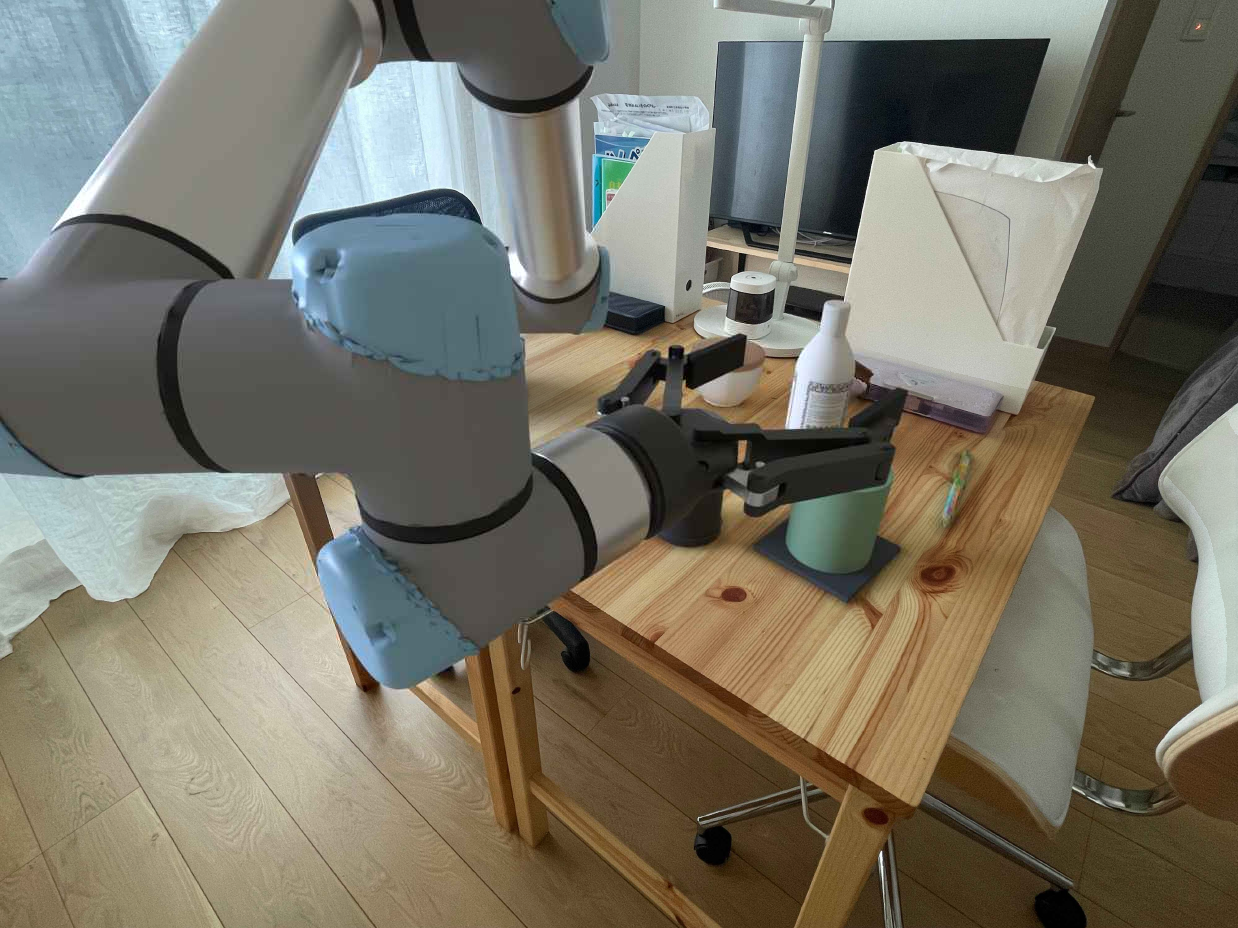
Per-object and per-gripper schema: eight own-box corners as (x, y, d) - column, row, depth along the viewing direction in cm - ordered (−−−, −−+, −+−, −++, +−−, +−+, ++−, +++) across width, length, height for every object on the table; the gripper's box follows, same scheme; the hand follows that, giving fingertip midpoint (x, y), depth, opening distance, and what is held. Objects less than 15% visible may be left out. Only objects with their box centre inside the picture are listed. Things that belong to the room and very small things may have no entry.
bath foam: (847, 459, 81) (883, 308, 70) (805, 472, 79) (835, 317, 68) (811, 434, 87) (840, 291, 76) (770, 446, 84) (794, 299, 73)
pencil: (949, 533, 69) (972, 458, 81) (952, 525, 68) (975, 451, 81) (936, 529, 69) (961, 455, 82) (939, 521, 69) (964, 448, 81)
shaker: (641, 514, 72) (644, 413, 64) (699, 498, 74) (708, 399, 67) (672, 555, 66) (679, 449, 59) (734, 536, 68) (748, 432, 61)
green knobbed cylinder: (769, 532, 68) (784, 443, 62) (833, 512, 71) (853, 426, 65) (820, 583, 61) (843, 489, 55) (889, 560, 64) (917, 468, 58)
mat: (752, 548, 67) (752, 544, 66) (809, 505, 73) (810, 501, 73) (846, 603, 60) (848, 599, 60) (900, 551, 66) (901, 546, 66)
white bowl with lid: (755, 384, 100) (763, 327, 95) (762, 416, 91) (770, 355, 86) (688, 380, 101) (692, 324, 96) (687, 412, 92) (691, 352, 87)
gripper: (493, 455, 46) (687, 369, 58) (785, 657, 31) (964, 484, 43) (480, 359, 41) (692, 289, 54) (812, 538, 26) (1001, 384, 39)
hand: (813, 375), depth 48 cm, fingers open, 13 cm apart
